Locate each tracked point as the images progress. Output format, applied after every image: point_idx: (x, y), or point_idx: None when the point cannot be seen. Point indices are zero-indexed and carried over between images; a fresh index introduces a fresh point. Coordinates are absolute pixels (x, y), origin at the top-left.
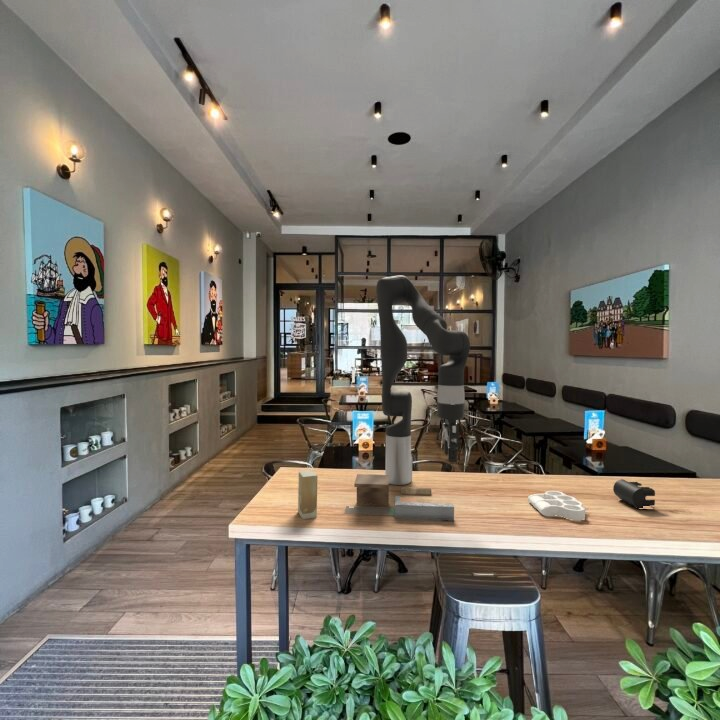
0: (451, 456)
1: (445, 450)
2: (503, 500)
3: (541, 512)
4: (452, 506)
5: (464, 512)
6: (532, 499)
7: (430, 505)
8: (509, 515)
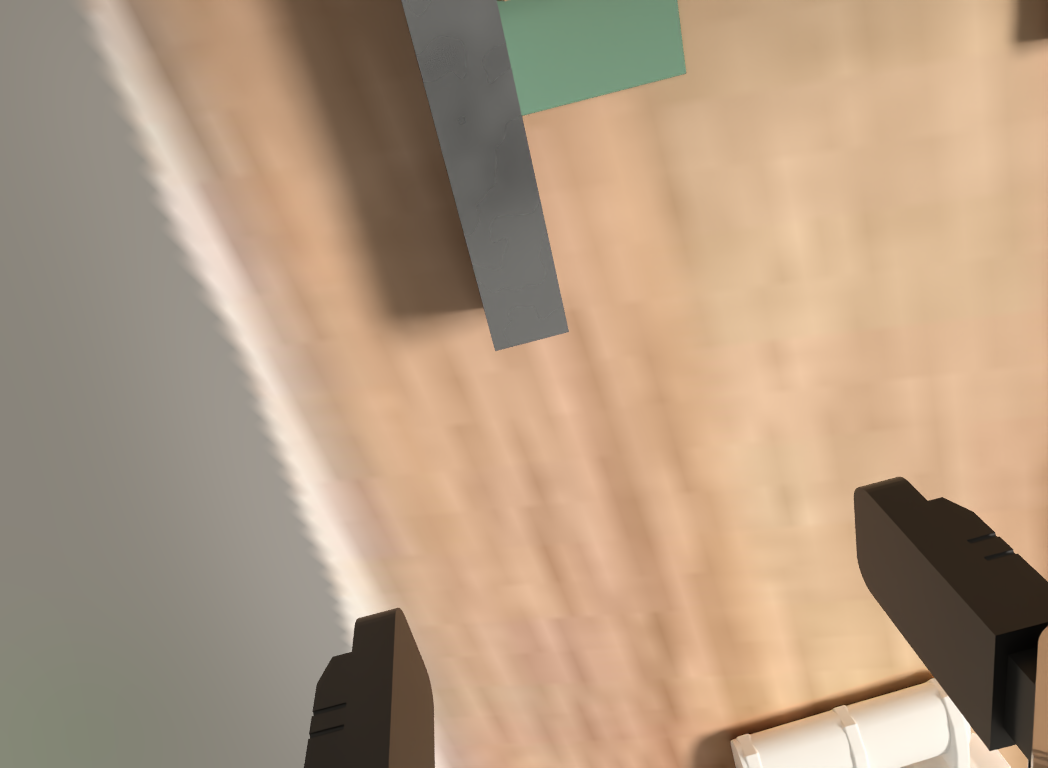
0: (317, 730)
1: (887, 531)
2: None
3: (734, 745)
4: (502, 336)
5: (686, 354)
6: (903, 718)
7: (457, 148)
8: (698, 599)
